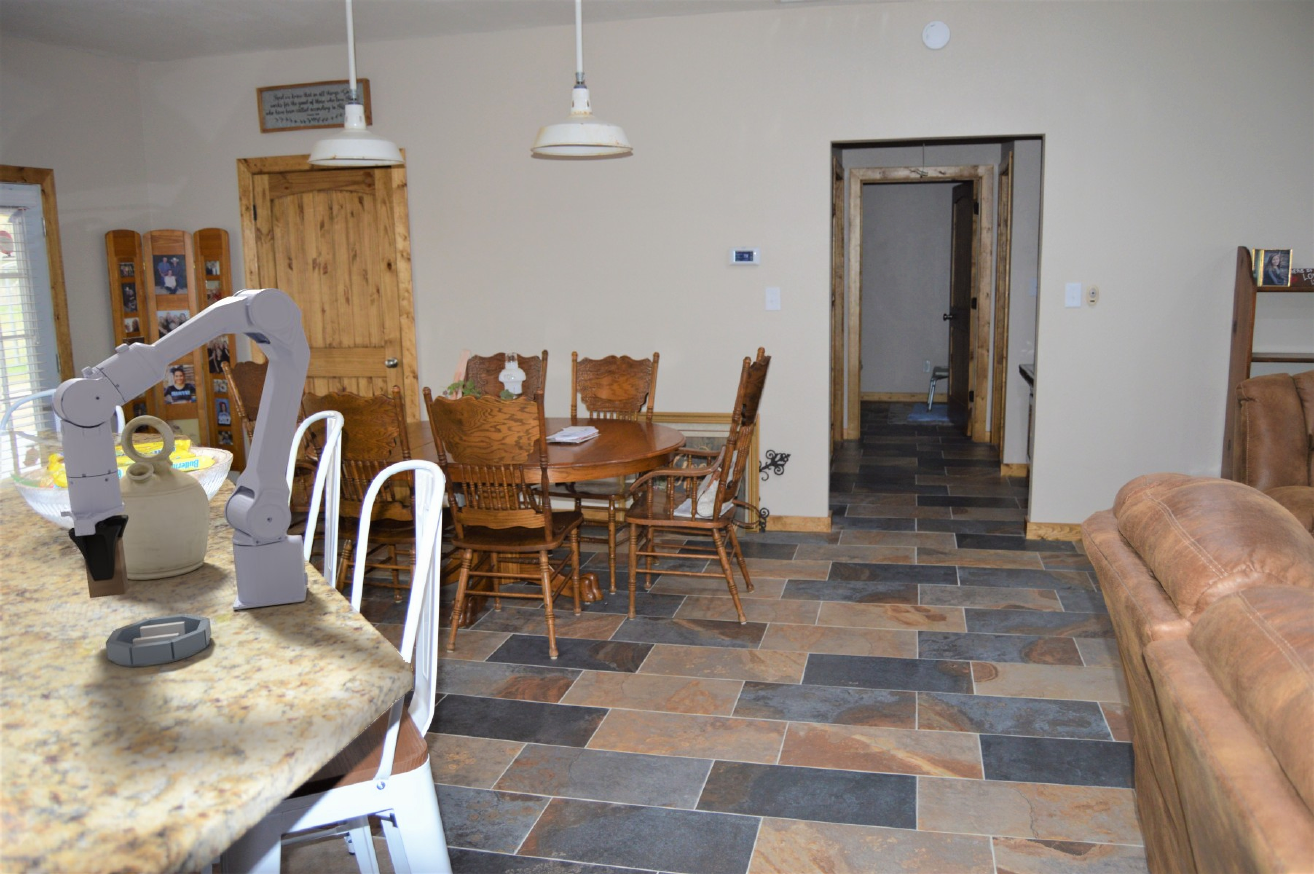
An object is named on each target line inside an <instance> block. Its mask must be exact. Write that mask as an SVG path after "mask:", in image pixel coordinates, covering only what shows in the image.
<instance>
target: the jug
mask: <svg viewBox="0 0 1314 874" xmlns="http://www.w3.org/2000/svg"><path fill="white" fill-rule="evenodd" d="M141 426H149V427H152V428H154V429H156V430H157V431H158V432H159V433H160V435H161V437H162V441H163V443H162V444H163V445H162V449H161V450H160V451H159V452H158V453H156V454H143V453H141V452H139V451H138V450H137V449H136V448H135V446H134V444H133V436H134V433H135V431H136V429H138V428H139V427H141ZM175 440H176V439H175V435H174V431H173V430H172V428H171V427H170V425H169V424H168V423H166V421H164V420H162V419H161V418H158V417H156V416H154V415H140V416H137V417H135V418H132V419H131V420H130V421H128V422H127V423H126V424H125V426H124V427H123V429H122V431H121V435H120V444H121V447H122V451H123V453H124V454H125V455H126V457H128V458H129V460H132V461H133V462H134V463H132V464H130V465H129V466H128V467H127V469H126V470H125V474H124V475H123V476H122V477H119V481H120V489H121V497H122V502H123V503H124V506H125V510H124V511H122V512H120V513H118V514H116V515H128V517H129V519H128V522H127V524H126V527H125V530H124V533H123V537H122V539H123V547H124V555H125V563H126V571H127V579H128V581H129V580H130V581H131V580H132V581H147V580H159V579H166V578H172V577H173V578H174V577H178V576H181V575H185V574H188V573H191V572H194V571H196V570H197V569H199V568H201V567H202V566H203V565H204V563H205V557H206V554H207V548H208V540H209V533H210V532H209V529H210V521H211V519H210V518H211V507H210V502H209V501H210V500H209V497H208V494H207V493H206V492H207V491H206V489H204V487H203V485H202V484H201V483H200V481H199V480H198V479H196V477H194V476H192V475H191V474H189V473H187V472H185V471H183V470H182V469H178V468H175V467H173V465H174V462H173V461H172V460H171V459H170V456H171V455H172V454H173V451H174V450H175V449H174V448H175ZM113 516H114V515H113Z"/></svg>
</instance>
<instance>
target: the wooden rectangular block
mask: <svg viewBox="0 0 1314 874" xmlns="http://www.w3.org/2000/svg"><path fill="white" fill-rule="evenodd" d="M84 564H85V571H86V573H85V574H86V579H87V587H88V594H89V599H95V598H103V597H112V596H121V595H122V596H123V595H125V594H127V592H128V590H129V579H127V571H126V563H125V555H124V547H123V539H122V537H117V540H116V546H115V566H114V575H113V578H112V579H111V580H102V581H94V580H93V578H92V576H91V574H90V571H89V569H88V566H87V564H86V561H85V560H84Z"/></svg>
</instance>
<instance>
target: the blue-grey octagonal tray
mask: <svg viewBox="0 0 1314 874" xmlns="http://www.w3.org/2000/svg"><path fill="white" fill-rule="evenodd" d="M211 636H212V627H211V619H210V617H206V616H201V615H196V614H195V615H194V614H191V613H180V614H171V615H170V614H169V615H163V616H162V615H161V616H155V617H154V616H153V617H148V618H145V619H141V620H138V621H135V622H133V623H129V624H127V625H124V626H121V627H119V628H116V629H115V630H112V632H111V634H110V635H109V636H108V638H107V640H106V641H105V646H106V654H107V659H108V660H109V661H112V663H113V664H116V665H118V666H122V667H134V668H138V667H151V666H160V665H163V664H169V663H174V662H176V661H180V660H184V659H186V658H189V657H191V656H194V655H196V654H198V653H200V652H202V651H203V650H205V649H207V647H208V646H209V645H210V642H211V640H210V639H211Z"/></svg>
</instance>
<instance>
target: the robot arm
mask: <svg viewBox="0 0 1314 874" xmlns="http://www.w3.org/2000/svg"><path fill="white" fill-rule="evenodd" d="M302 315H303V311H302V310H301V309H300V307H299V306H298V304H296V302H295V301H294V300H293V299H292V297H291V296H290V295H288V294H287V293H286V292H285V291H283V290H282V289H278V288H275V287H274V288H271V287H269V288H263V289H254V288H244V289H242V290H239V291H237V292H235V293H234V294H233V295H232V296H227V297H225V298H222V299H220V300H218V301H216V302H214V303H213V304H211V305H210V306H208V307H206V308H205V309H203V310H201V312H198V313H197V314H196V315H194V316H193V317H190V319H188V320H186V321H185V322H183V323H182V324H181V325H179V326H178V327H176V328H175V329H173V330H172V331H170V332H168V333H167V334H166V335H164V336H162V337H161V338H160V339H158V340H157V341H155V342H153V343H152V344H146V343H142V342H134V343H132V344H130V345H128V344H127V343H122V344H121V345H119V346H116V347H115V351H116V353H115V354H113V355H112V356H110V357H108V358H107V359H105V360H104V361H101V362H100V363H98V364H96V365H95V366H94V367H91V366H86V367H84V368H83V369H81V374H83V377H84V378H82V377H79V378H77V377H76V378H70V379H67V380H65V381H62V383H61V384H59V385H58V386H57V387H56V391H55V392H53V396H52V401H51V402H50V406H51V409H52V412H54V413H55V415H56V417H58V418H59V419H60V420H59V423H60V433H61V437H62V438H61V447H62V455H63V462H64V469H65V476H66V481H67V482H66V484H67V491H68V497H69V498H68V499H69V504H70V507H67V508H63V509H61V510H60V518H61V517H63V518H65V517H70V518H71V519H72V520H73V526H74V527H71V528H70V529H69V530H68V532H67V533H68V537H69V539H70V540H71V541H72V542H73V543H74V544H75V546H76V547H77V548H78V550H79V551H80V553H81V554H82V556H83V558H84V562H85V561H86V564H87V566H88V569H89V571H90V574H91V576H92V578H93V580H94V581H102V580H111V579H112V578H113V575H114V566H115V546H116V540H117V537H123V533H124V530H125V527H126V524H127V522H128V519H129V517H128V515H116V514H118V513H120V512H122V511H124V510H125V506H124V503H123V502H122V497H121V489H120V481H119V479H120V474H119V467H118V461H117V454H116V452H117V451H116V444H115V437H114V435H113V431H112V423H111V418H112V417H113V415H114V414H115V411H116V408H117V406H118V407H122V406H124V405H125V404H127V403H129V402H131V400H133V399H135V398H136V397H138V396H139V395H141V394H143V393H144V392H145V391H148V390H149V389H151V388H152V387H154V386H156V385H157V384H158V383H161V382H162V381H164V380H165V379H166V373H167V370H168V366H169V365H170V364H172V363H173V362H174V363H175V361H177V360H179V359H181V358H182V357H184V356H187V355H188V354H189V353H191V352H193V351H195V350H197V349H198V348H200V347H202V346H203V345H205V344H207V343H208V342H210V341H212V340H214V339H216V338H218V337H219V336H223V335H227V334H228V335H229V334H244V335H245V336H246V337H248V338H249V339H251V341H253V342H255V344H256V345H257V347H259V349H260V350H261V351H262V353H263V354H264V355H265V357H266V358H267V359H268V365H267V370H266V374H265V380H264V383H263V387H262V388H263V390H262V392H261V398H260V401H259V407H258V412H257V415H256V421H255V425H254V430H253V435H252V439H251V440H252V441H251V444H250V449H249V454H248V458H247V462H246V467H245V469H244V470H243V471H242V473H241V474H240V475H239V476H238V478H237V479H236V483H235V488H234V489H233V491H232V493H231V494H230V496H229V497H228V498H227V499H226V501H225V504H224V509H223V514H224V519H225V521H226V523H227V524H228V525H229V526H230V527H231V528H232V529H234V531H233V535H232V537H231V541H232V553H233V562H234V569H235V570H234V571H235V581H236V588H237V589H236V590H237V591H236V592H237V593H236V596H235V599H234V602H233V604H232V610H236V611H237V610H242V609H243V610H245V609H250V608H251V609H252V608H260V607H267V606H268V607H269V606H276V605H284V604H292V603H302V602H305V601H306V598H307V588H308V585H309V577H308V572H306V563H305V554H304V553H305V552H304V550H305V549H304V543H303V537H302V535H301V534H298V535H297V534H296V535H294V534H293V535H290V534H289V535H288V534H287V531H288V529H289V527H290V525H291V522H292V513H291V509H290V506H289V499H290V494H291V491H290V490H291V489H290V487H289V484H288V480H287V477H286V473H287V469H288V463H289V459H290V454H291V449H292V445H293V439H294V436H295V435H294V434H295V431H296V425H297V421H298V417H299V412H300V407H301V402H302V398H303V394H304V388H305V383H306V378H307V374H308V370H309V366H310V360H311V350H310V345H309V343H308V340H307V336H306V333H305V330H304V327H303V323H302V317H303V316H302ZM113 515H114V516H113Z"/></svg>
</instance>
